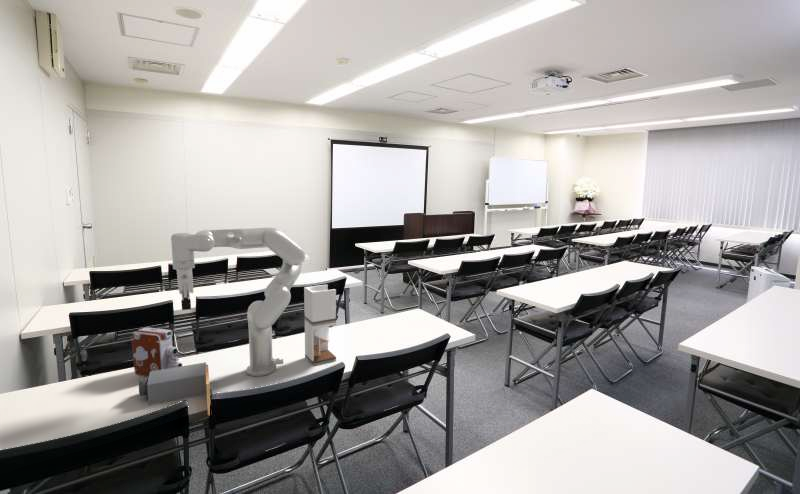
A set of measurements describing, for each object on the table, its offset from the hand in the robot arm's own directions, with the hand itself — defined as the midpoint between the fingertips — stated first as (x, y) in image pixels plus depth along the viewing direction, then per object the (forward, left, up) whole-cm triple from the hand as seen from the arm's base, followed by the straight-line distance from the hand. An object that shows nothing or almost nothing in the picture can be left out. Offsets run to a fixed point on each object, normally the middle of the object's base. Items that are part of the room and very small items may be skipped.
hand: (186, 309), depth 160 cm
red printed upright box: (+12, -14, -32) cm, 37 cm away
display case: (-55, 0, -32) cm, 64 cm away
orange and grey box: (+6, +6, -32) cm, 33 cm away
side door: (-6, +20, -32) cm, 38 cm away
